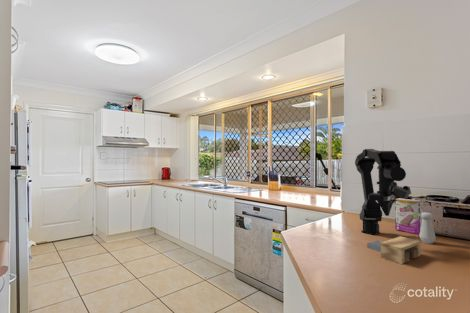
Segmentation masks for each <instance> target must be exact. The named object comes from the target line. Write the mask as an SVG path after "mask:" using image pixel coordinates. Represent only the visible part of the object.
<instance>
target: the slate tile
mask: <svg viewBox="0 0 470 313" xmlns="http://www.w3.org/2000/svg"><path fill="white" fill-rule="evenodd" d="M382 242H383V241H380V240H374V241H370V242H367V243H366V247H367V249H371V250H374V251H376V252H379V253H381V243H382ZM404 252H409V258H411V250H408V249H406V250H404Z"/></svg>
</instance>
